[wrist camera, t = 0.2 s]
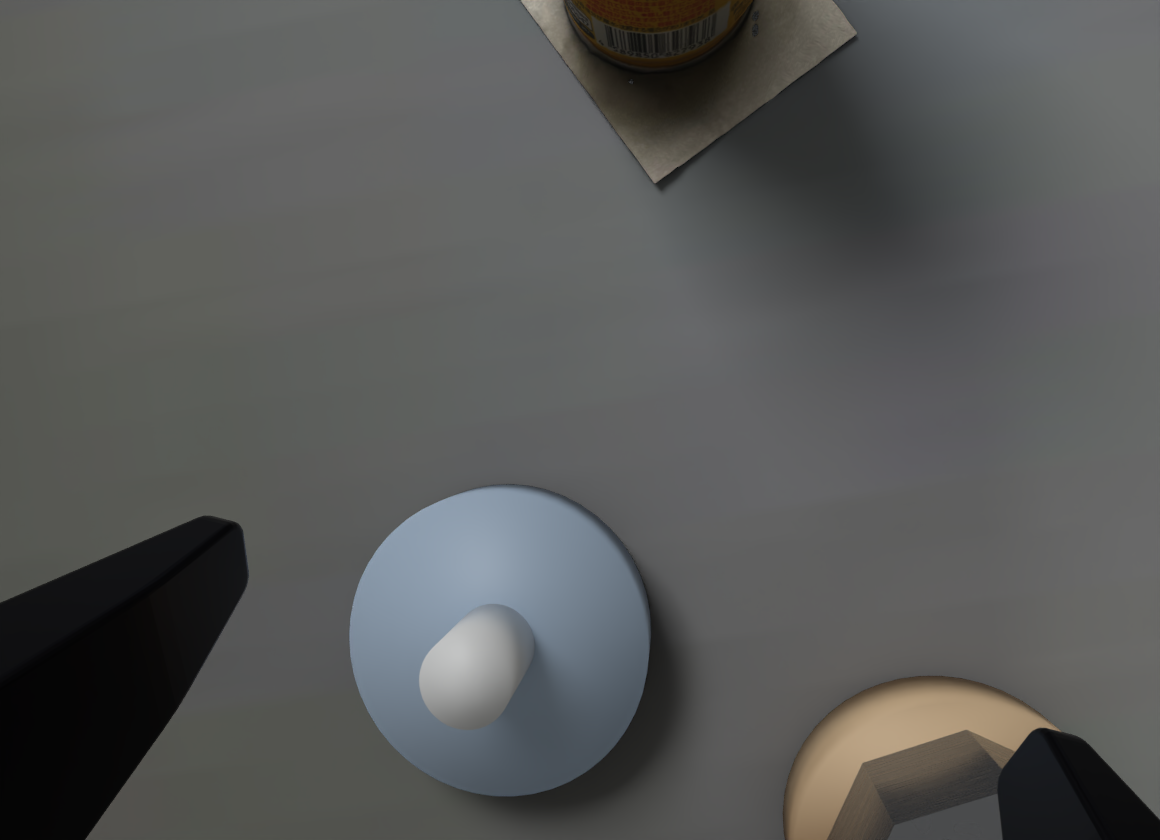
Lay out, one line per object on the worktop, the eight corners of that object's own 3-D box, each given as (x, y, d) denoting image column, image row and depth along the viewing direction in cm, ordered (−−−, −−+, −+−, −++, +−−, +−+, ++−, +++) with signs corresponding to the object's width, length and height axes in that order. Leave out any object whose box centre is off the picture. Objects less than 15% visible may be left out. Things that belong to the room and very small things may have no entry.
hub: (695, 711, 23) (699, 797, 18) (436, 799, 24) (372, 903, 19) (586, 441, 23) (561, 452, 18) (337, 542, 24) (248, 577, 19)
